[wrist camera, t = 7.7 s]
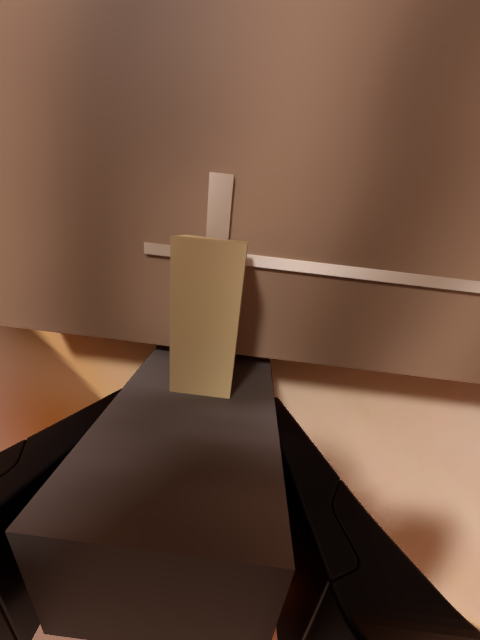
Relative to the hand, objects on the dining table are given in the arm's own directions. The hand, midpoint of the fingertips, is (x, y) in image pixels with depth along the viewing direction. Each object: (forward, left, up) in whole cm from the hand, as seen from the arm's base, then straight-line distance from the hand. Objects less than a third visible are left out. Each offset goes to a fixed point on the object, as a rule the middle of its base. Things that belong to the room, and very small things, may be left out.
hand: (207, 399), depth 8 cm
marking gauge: (0, -2, -2) cm, 3 cm away
